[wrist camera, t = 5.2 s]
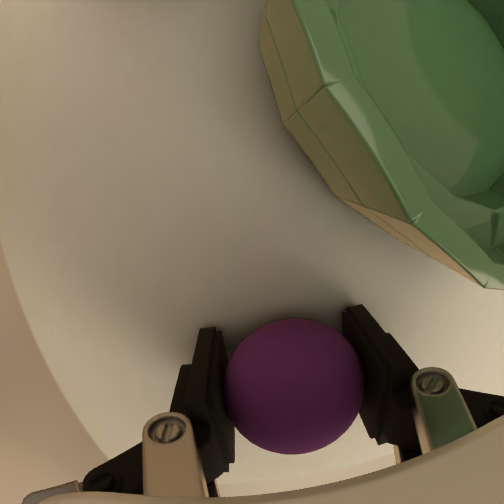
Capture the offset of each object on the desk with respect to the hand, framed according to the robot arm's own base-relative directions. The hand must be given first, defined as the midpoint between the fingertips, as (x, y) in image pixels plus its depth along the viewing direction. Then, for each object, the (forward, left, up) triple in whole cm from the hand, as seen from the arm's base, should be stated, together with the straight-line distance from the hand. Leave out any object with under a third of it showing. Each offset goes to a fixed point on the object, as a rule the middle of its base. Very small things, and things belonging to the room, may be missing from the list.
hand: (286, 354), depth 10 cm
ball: (0, 0, +2) cm, 2 cm away
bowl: (-5, +11, 0) cm, 12 cm away
